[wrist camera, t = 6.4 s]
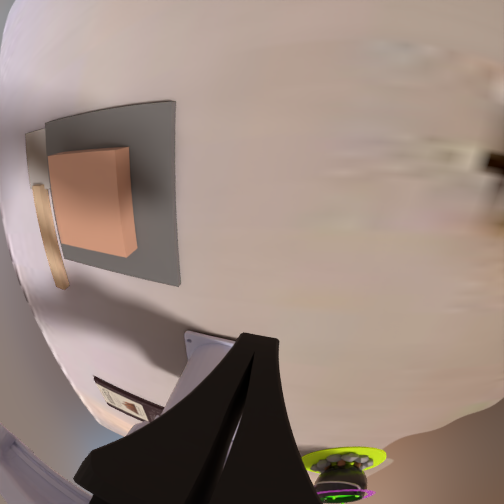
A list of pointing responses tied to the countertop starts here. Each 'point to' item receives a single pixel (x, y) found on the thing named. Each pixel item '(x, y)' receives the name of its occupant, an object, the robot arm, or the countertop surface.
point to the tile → (94, 199)
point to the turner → (44, 203)
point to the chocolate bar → (128, 402)
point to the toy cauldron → (342, 472)
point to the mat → (132, 183)
